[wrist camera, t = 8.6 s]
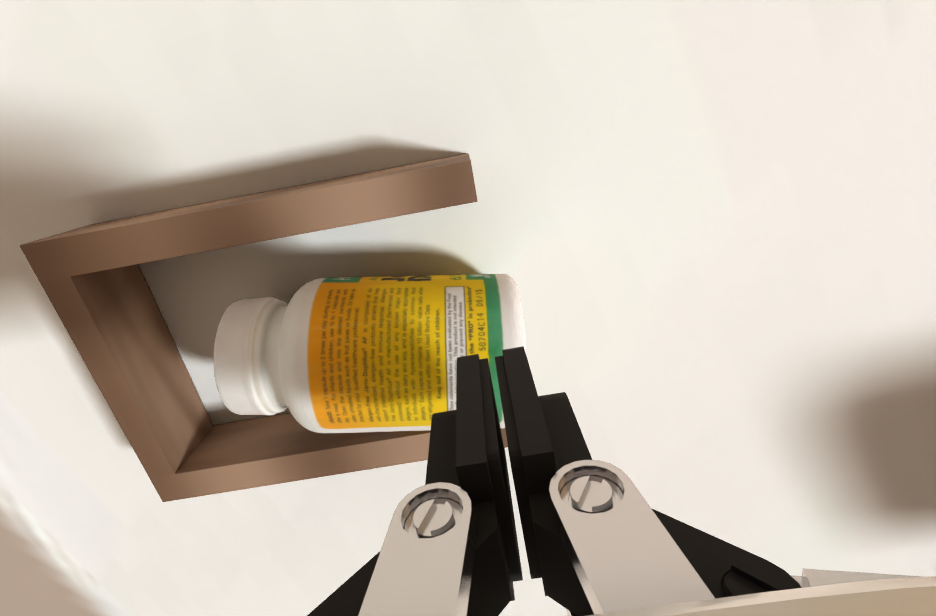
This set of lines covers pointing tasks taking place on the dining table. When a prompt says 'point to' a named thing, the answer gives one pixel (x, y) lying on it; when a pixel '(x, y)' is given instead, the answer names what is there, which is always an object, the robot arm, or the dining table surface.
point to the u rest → (157, 358)
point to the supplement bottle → (365, 349)
